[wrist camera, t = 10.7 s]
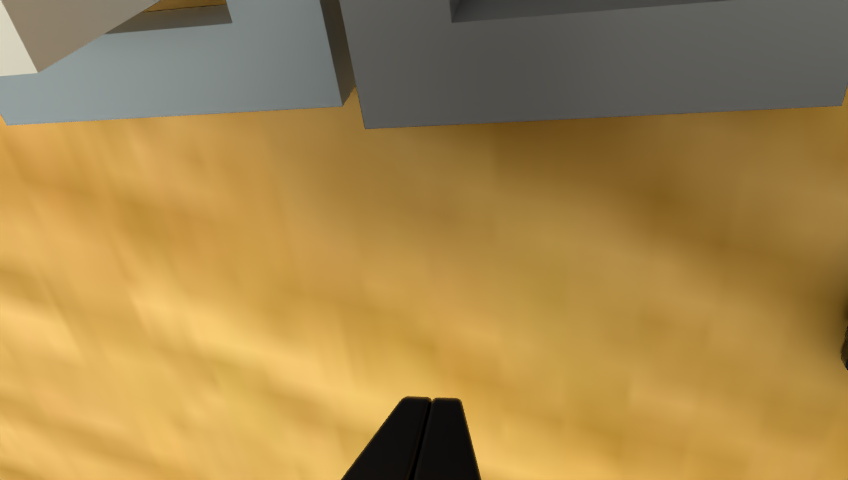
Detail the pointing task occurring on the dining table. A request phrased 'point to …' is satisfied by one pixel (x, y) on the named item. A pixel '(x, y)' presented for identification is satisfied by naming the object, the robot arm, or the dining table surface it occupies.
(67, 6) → the plug
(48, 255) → the dining table surface
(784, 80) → the raised dock
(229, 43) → the low dock
